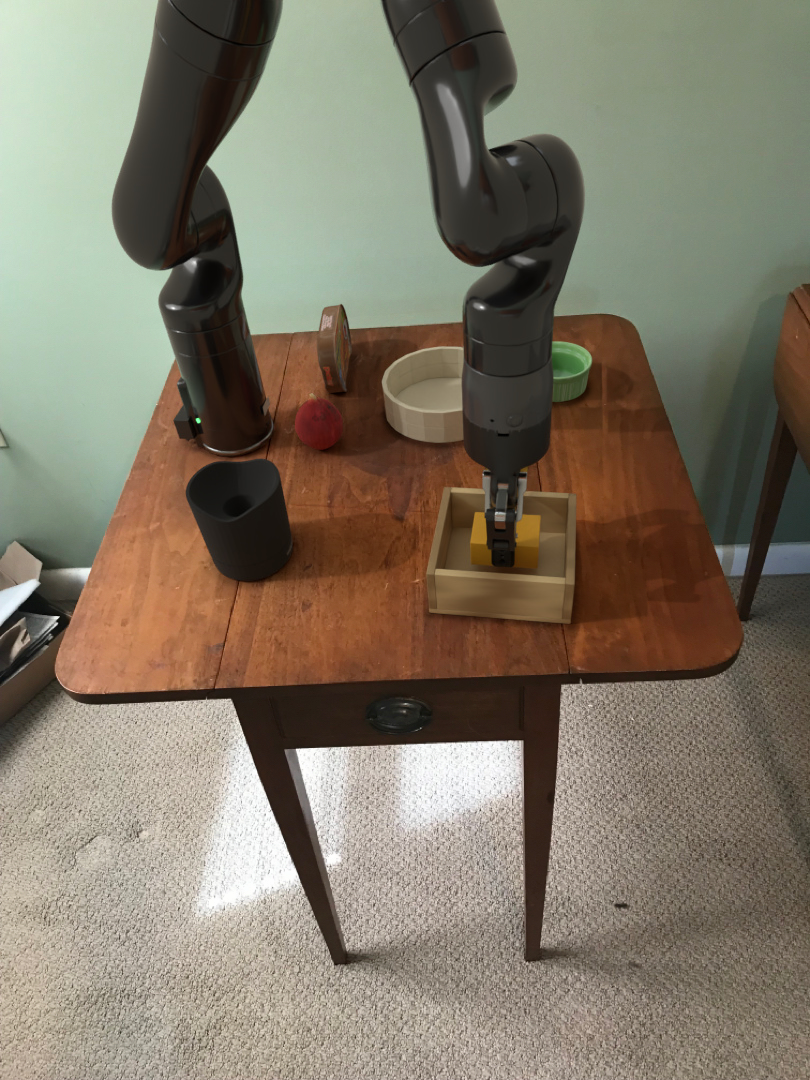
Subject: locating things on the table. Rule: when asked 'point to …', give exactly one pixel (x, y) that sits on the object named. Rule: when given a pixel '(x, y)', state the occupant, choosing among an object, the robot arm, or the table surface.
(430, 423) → the bowl
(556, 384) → the ramekin
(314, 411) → the onion
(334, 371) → the tin
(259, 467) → the pen holder
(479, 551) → the yellow rectangular block
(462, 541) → the box
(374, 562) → the table surface
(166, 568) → the table surface
